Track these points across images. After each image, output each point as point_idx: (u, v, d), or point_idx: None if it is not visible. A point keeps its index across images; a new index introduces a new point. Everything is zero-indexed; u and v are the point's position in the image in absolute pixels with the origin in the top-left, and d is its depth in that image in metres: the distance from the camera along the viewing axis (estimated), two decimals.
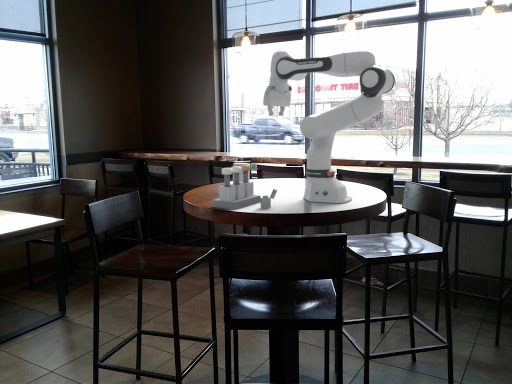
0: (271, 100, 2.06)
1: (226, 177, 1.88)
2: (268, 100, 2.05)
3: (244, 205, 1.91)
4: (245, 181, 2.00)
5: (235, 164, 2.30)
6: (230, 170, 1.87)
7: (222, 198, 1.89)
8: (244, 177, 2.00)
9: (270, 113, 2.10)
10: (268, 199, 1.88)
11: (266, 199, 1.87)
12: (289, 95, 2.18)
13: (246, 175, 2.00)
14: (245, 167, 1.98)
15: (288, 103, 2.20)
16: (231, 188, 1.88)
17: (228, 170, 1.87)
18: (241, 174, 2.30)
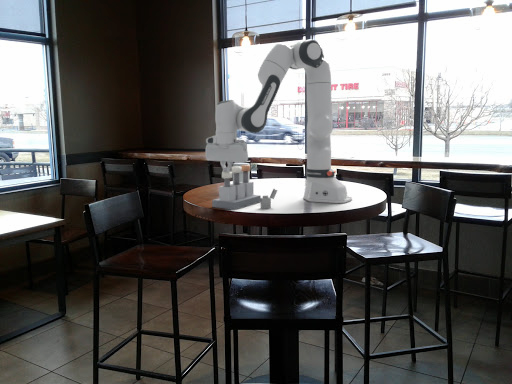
0: None
1: (226, 181, 1.88)
2: (247, 156, 1.83)
3: (244, 205, 1.91)
4: (245, 181, 2.00)
5: (235, 164, 2.30)
6: (230, 174, 1.87)
7: (222, 198, 1.89)
8: (244, 177, 2.00)
9: (229, 169, 1.88)
10: (268, 199, 1.88)
11: (266, 199, 1.87)
12: None
13: (246, 175, 2.00)
14: (245, 167, 1.98)
15: None
16: (231, 188, 1.88)
17: (228, 174, 1.87)
18: (241, 174, 2.30)
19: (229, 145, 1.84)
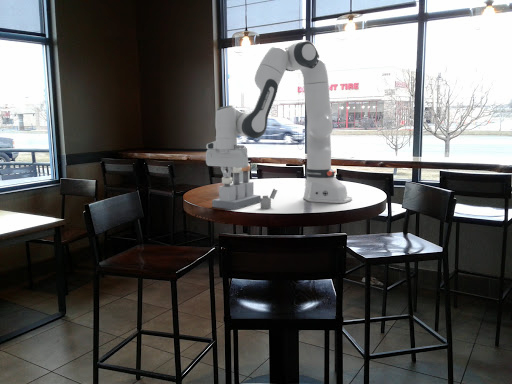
0: None
1: (226, 186, 1.89)
2: (247, 161, 1.84)
3: (244, 205, 1.91)
4: (245, 181, 2.00)
5: None
6: (230, 179, 1.88)
7: (222, 198, 1.89)
8: (244, 177, 2.00)
9: (229, 175, 1.88)
10: (268, 199, 1.88)
11: (266, 199, 1.87)
12: None
13: (246, 175, 2.00)
14: (245, 167, 1.98)
15: None
16: (231, 188, 1.88)
17: (228, 179, 1.87)
18: (241, 174, 2.30)
19: (229, 150, 1.84)
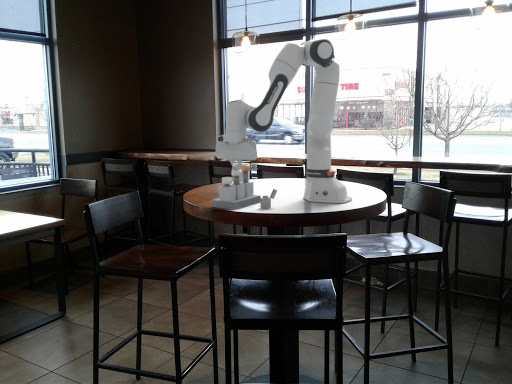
0: None
1: (226, 186, 1.89)
2: (256, 154, 1.89)
3: (244, 205, 1.91)
4: (245, 181, 2.00)
5: None
6: (230, 179, 1.88)
7: (222, 198, 1.89)
8: (244, 177, 2.00)
9: (239, 167, 1.94)
10: (268, 199, 1.88)
11: (266, 199, 1.87)
12: None
13: (246, 175, 2.00)
14: (245, 167, 1.98)
15: None
16: (231, 188, 1.88)
17: (228, 179, 1.87)
18: None
19: (239, 143, 1.89)
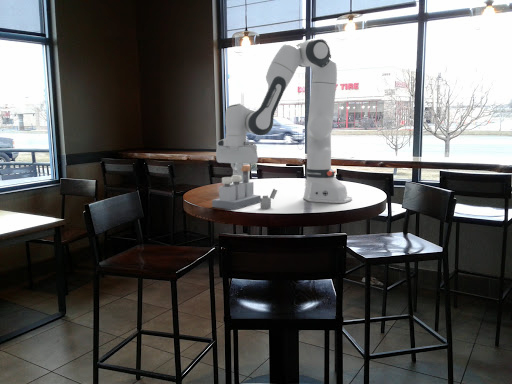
0: None
1: (226, 186, 1.89)
2: (257, 157, 1.89)
3: (244, 205, 1.91)
4: (245, 181, 2.00)
5: None
6: (230, 179, 1.88)
7: (222, 198, 1.89)
8: (244, 177, 2.00)
9: (239, 171, 1.94)
10: (268, 199, 1.88)
11: (266, 199, 1.87)
12: None
13: (246, 175, 2.00)
14: (245, 167, 1.98)
15: None
16: (231, 188, 1.88)
17: (228, 179, 1.87)
18: (241, 174, 2.30)
19: (239, 147, 1.90)
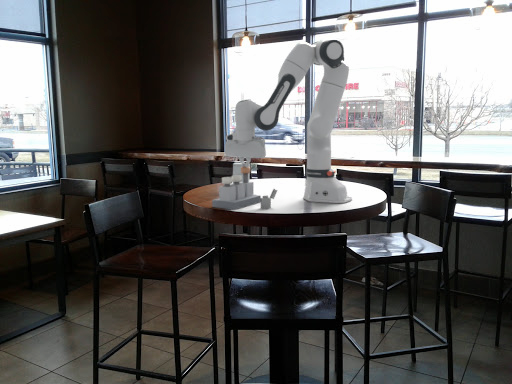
0: None
1: (226, 186, 1.89)
2: (265, 152, 1.95)
3: (244, 205, 1.91)
4: None
5: (235, 164, 2.30)
6: (230, 179, 1.88)
7: (222, 198, 1.89)
8: (244, 179, 2.00)
9: (247, 165, 1.99)
10: (268, 199, 1.88)
11: (266, 199, 1.87)
12: None
13: (246, 177, 2.00)
14: (245, 169, 1.98)
15: None
16: (231, 188, 1.88)
17: (228, 179, 1.87)
18: (241, 174, 2.30)
19: (248, 142, 1.95)
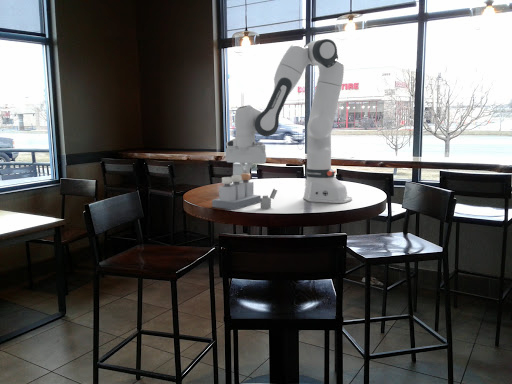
0: None
1: (226, 186, 1.89)
2: None
3: (244, 205, 1.91)
4: None
5: (235, 164, 2.30)
6: (230, 179, 1.88)
7: (222, 198, 1.89)
8: None
9: (248, 170, 2.00)
10: (268, 199, 1.88)
11: (266, 199, 1.87)
12: None
13: None
14: (245, 176, 1.99)
15: None
16: (231, 188, 1.88)
17: (228, 179, 1.87)
18: None
19: (248, 148, 1.96)
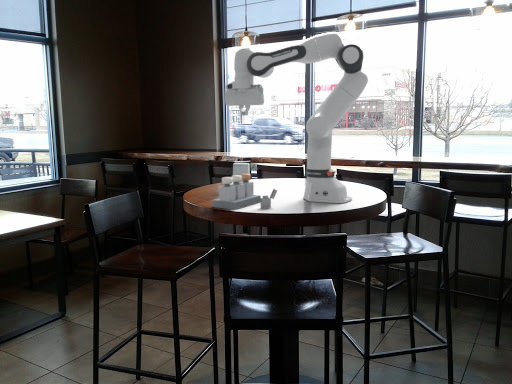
0: None
1: (226, 186, 1.89)
2: (263, 99, 2.03)
3: (244, 205, 1.91)
4: None
5: (235, 164, 2.30)
6: (230, 179, 1.88)
7: (222, 198, 1.89)
8: None
9: (247, 113, 2.08)
10: (268, 199, 1.88)
11: (266, 199, 1.87)
12: None
13: None
14: (245, 176, 1.99)
15: None
16: (231, 188, 1.88)
17: (228, 179, 1.87)
18: None
19: (247, 89, 2.03)
